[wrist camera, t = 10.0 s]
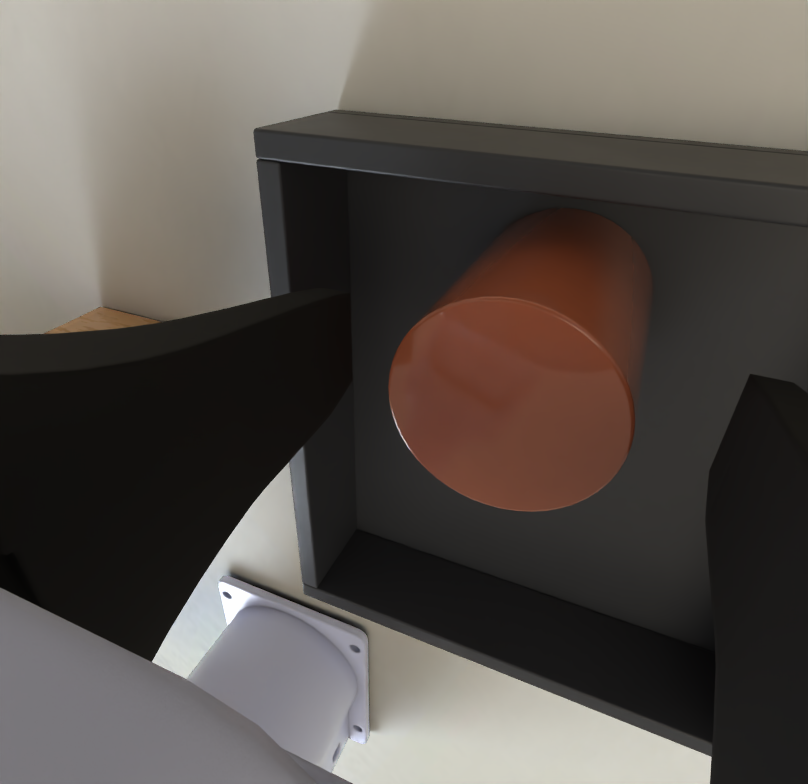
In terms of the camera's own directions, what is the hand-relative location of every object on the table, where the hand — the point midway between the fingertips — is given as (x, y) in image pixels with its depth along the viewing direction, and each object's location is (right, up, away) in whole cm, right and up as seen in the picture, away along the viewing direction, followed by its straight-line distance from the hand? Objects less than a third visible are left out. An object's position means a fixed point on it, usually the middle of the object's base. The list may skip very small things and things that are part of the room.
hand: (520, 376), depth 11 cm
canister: (+2, +2, +3) cm, 4 cm away
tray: (+2, -1, +6) cm, 6 cm away
